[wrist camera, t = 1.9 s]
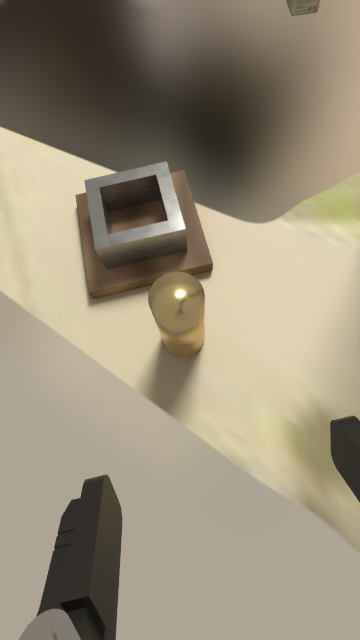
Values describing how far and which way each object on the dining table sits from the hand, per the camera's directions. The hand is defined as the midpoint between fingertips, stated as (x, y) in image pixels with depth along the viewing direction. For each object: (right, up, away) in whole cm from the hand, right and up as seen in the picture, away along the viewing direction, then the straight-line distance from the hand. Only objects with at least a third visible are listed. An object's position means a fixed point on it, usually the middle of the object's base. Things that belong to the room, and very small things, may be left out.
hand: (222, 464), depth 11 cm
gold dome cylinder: (-1, +3, +23) cm, 23 cm away
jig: (-6, +15, +28) cm, 33 cm away
